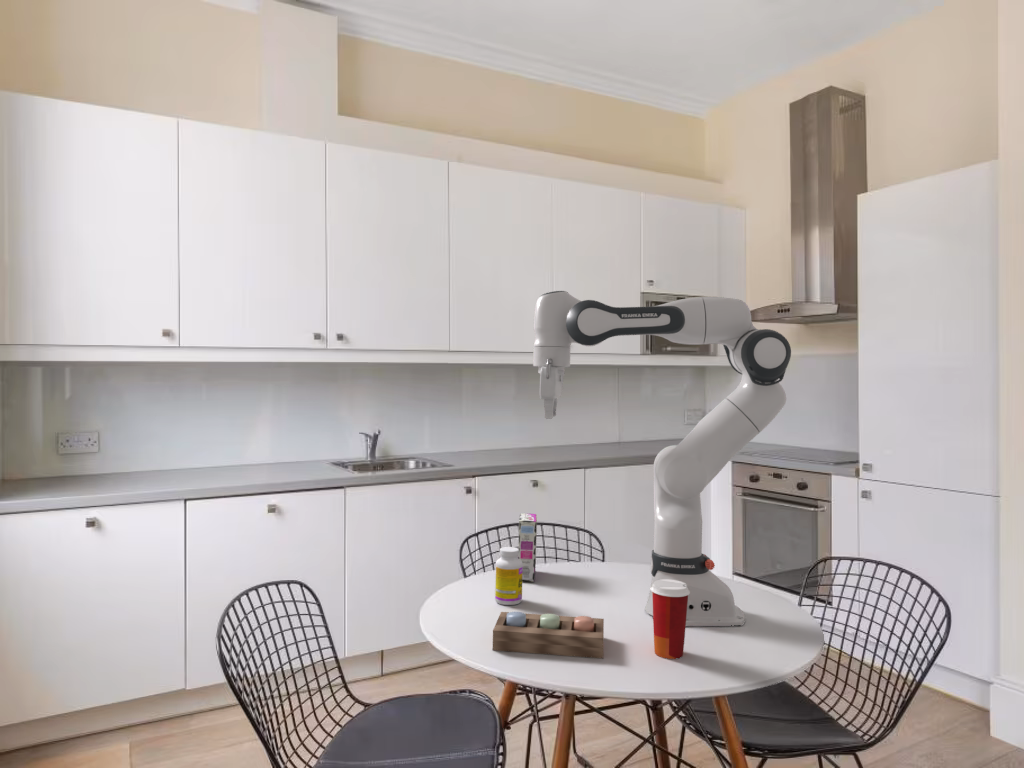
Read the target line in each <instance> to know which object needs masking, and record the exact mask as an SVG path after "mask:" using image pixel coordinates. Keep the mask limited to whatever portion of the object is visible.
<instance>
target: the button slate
mask: <svg viewBox="0 0 1024 768" xmlns="http://www.w3.org/2000/svg"><path fill="white" fill-rule="evenodd" d="M508 612H509V611H508ZM526 614H527V613H526ZM526 614H525V612H522V611H510V612H509V613H507V626H516V627H526Z"/></svg>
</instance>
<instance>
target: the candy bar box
mask: <svg viewBox="0 0 1024 768" xmlns="http://www.w3.org/2000/svg"><path fill="white" fill-rule="evenodd" d="M537 518H538V517H537V514H536V513H525V512H524V513H520V514H519V518H518V544H517V545H518V549H519V555H518V559H520V560H521V561H522V563H523V570H522V583H523V582H524V583H525V582H526V583H527V582H528V583H534V582H536V581H535V579H536V565H537V564H536V563H537V562H536V561H537V535H538V534H537V533H538V532H537V531H538V530H537V529H538V526H537V525H538V522H537Z"/></svg>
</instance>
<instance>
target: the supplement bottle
mask: <svg viewBox="0 0 1024 768" xmlns="http://www.w3.org/2000/svg"><path fill="white" fill-rule="evenodd" d="M499 555H500V558H498V559H497V560H495V574H494V575H495V576H494V578H495V581H494V601H495V603H497V604H498V605H504V606H515V605H519V604H520V603H522V601H523V582H522V570H523V563H522V561H521V560H520V559H518V555H519V549H518V548H517V547H514V546H503V547H500V549H499Z"/></svg>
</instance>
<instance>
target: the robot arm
mask: <svg viewBox="0 0 1024 768" xmlns="http://www.w3.org/2000/svg"><path fill="white" fill-rule="evenodd" d="M533 317H534V318H533V331H534V336H535V337H534V343H533V347H532V348H533V349H532V352H533V353H532V354H533V355H532V356H533V357H532V359H533V361H532V367H536V368H537V367H538V370H537V372H538V374H539V375H540V376H539V399H540V400H543V407H544V418H545V419H546V420H551V419H553V418H554V417H556V416H557V407H558V399H559V398H561V396H562V393H563V388H564V387H563V386H564V379H565V378H564V377H565V372H566V370H565V369H567V368H570V367H571V344H578V345H581V346H584V347H594V346H597V345H600V344H601V343H602V342H604V341H606V340H607V339H610V338H614V337H619V336H620V337H621V336H623V337H624V336H647V335H648V336H657V337H661V338H663V339H666V340H668V341H669V342H671V343H676V344H682V345H693V346H694V345H723V349H724V350H725V354H726V358H727V360H728V363H729V365H730V366H731V368H732V369H733V370H734V371H735V372H737V373H738V374H740V375H741V378H740V382H739V384H738V385H737V387H736V388H735V389H734V390H733V391H732V392H731V393H729V394H728V395H727V396H726V397H725V398H724V399H723V400H722V401H720V402H719V403H718V404H717V405H716V406H715V407H714V408H713V409H711V410H710V411H708V413H707V414H706V415H704V417H702V419H700V420H699V421H698V422H697V424H696V425H695V426H694V427H693V429H692V430H691V431H689V433H688V434H687V435H686V436H684V438H683V439H682V440H681V441H680V442H679V443H678V444H673V445H669V446H666V447H664V448H663V449H661V450H660V451H659V452H658V453H657V455H656V457H655V458H654V462H653V513H654V514H653V517H654V519H653V521H654V522H653V550H651V556H650V572H651V582H650V586H649V587H650V588H651V587H652V584H654V582H655V581H657V580H662V579H669V580H677V581H681V582H684V583H685V584H686V585H687V587H688V590H689V591H690V594H689V595H688V603H687V615H686V627H735V626H734V625H741V626H743V625H744V624H745V623H744V621H745V622H746V618H745V617H746V616H745V613H744V611H743V610H742V609H741V608H740V607H739V606H737V605H736V604H735V598H734V594H733V592H732V590H731V588H730V586H728V585H727V584H726V582H724V581H723V580H721V578H719V577H718V576H716V574H715V573H713V572H712V571H711V570H714V569H715V566H716V565H715V563H714V561H713V560H712V559H711V558H710V557H709V556H707V555H706V554H704V553H702V547H703V516H702V515H703V514H702V502H701V493H702V492H703V491H704V489H705V488H706V487H707V486H708V485H709V484H710V483H711V482H712V481H713V480H714V479H715V478H716V476H717V475H718V474H719V473H720V472H721V471H722V469H724V467H726V465H727V464H728V463H729V462H730V461H731V459H733V457H734V456H735V455H736V454H737V453H738V452H740V451H741V450H742V449H743V448H744V447H745V446H747V445H748V444H749V443H750V442H751V441H752V440H753V439H754V438H755V437H756V436H758V435H759V434H760V433H761V432H762V431H764V429H765V428H767V426H769V424H771V422H772V421H773V420H774V419H775V418H776V417H777V415H778V414H779V413H780V412H781V410H782V409H783V408H784V407H785V405H786V402H787V394H786V391H785V389H784V388H783V386H782V385H781V384H780V382H782V381H783V379H784V376H785V375H786V374H785V373H786V371H787V368H788V365H789V363H790V361H791V356H792V349H791V348H792V347H791V345H790V343H789V340H788V339H787V338H786V337H785V336H784V335H783V334H781V333H780V332H778V331H777V330H774V329H768V328H766V329H765V328H763V329H761V328H760V329H758V328H756V327H755V326H754V325H753V322H752V314H751V310H750V307H749V306H748V304H747V303H746V302H745V301H743V300H741V299H738V298H733V297H732V298H731V297H724V296H723V297H722V296H721V297H720V296H699V297H695V296H694V297H687V298H682V299H681V298H680V299H676V300H673V301H669V302H665V303H662V304H659V305H655V306H654V305H653V306H652V305H651V306H627V307H625V306H622V307H617V306H616V307H615V306H611V305H608V304H605V303H603V302H601V301H597V300H593V299H586V300H585V299H584V300H579V298H576V297H574V296H573V295H571V294H570V293H569V292H568V291H566V290H556V291H555V290H554V291H550V292H549V291H548V292H546V293H544V294H542V295H540V296H539V297H537V299H536V303H535V305H534V316H533ZM650 588H649V593H648V598H647V601H646V604H645V608H644V610H645V612H646V613H647V614H649V615H650V616H652V617H653V596H652V591H651V590H650ZM743 623H744V624H743ZM742 624H743V625H742ZM731 625H732V626H731Z"/></svg>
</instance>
